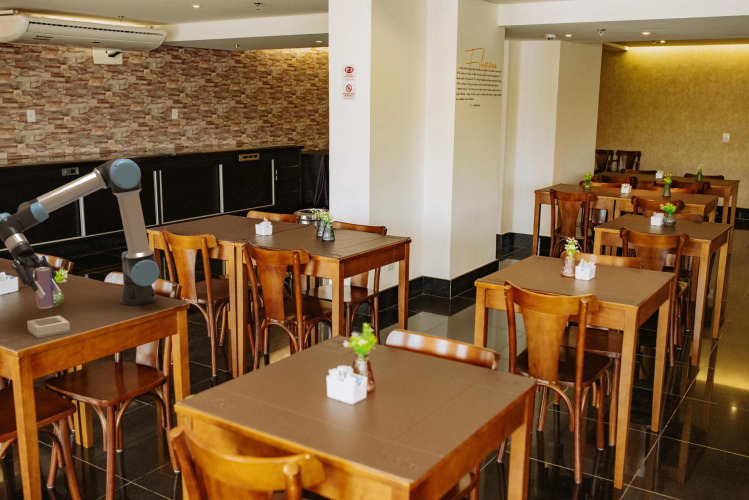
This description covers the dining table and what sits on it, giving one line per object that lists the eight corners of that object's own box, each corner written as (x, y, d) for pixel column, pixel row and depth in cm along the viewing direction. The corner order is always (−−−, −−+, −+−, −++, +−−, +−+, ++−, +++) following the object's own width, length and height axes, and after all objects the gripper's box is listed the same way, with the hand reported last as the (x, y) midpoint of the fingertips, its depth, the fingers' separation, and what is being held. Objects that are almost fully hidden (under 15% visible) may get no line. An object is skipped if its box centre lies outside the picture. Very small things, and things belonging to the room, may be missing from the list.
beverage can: (56, 305, 284) (54, 267, 281) (48, 309, 278) (45, 270, 276) (42, 304, 285) (39, 266, 282) (33, 308, 279) (30, 270, 276)
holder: (60, 325, 292) (59, 315, 291) (70, 332, 283) (69, 322, 282) (28, 330, 284) (27, 321, 284) (37, 338, 275) (36, 327, 275)
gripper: (37, 250, 294) (67, 295, 289) (-7, 258, 277) (24, 306, 273) (45, 238, 290) (76, 283, 285) (0, 245, 274) (32, 294, 269)
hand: (50, 294), depth 279 cm, fingers closed on beverage can, 6 cm apart
